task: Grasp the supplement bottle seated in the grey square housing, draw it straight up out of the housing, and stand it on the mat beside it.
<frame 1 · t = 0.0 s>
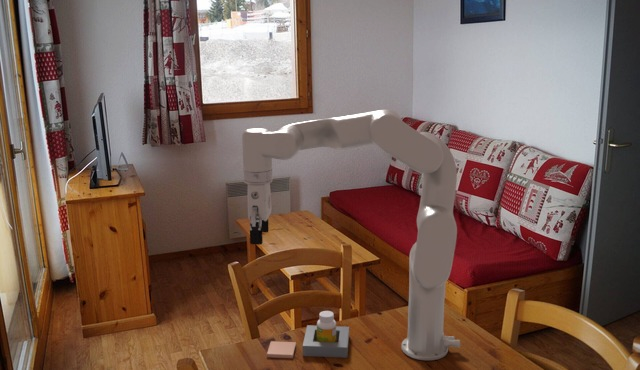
hand: (259, 237, 173), 31 cm above the table, tool pointing down, fingers open, 9 cm apart
supplement bottle: (326, 346, 180), resting in housing
mat: (281, 351, 177), on the table
housing: (326, 345, 180), on the table
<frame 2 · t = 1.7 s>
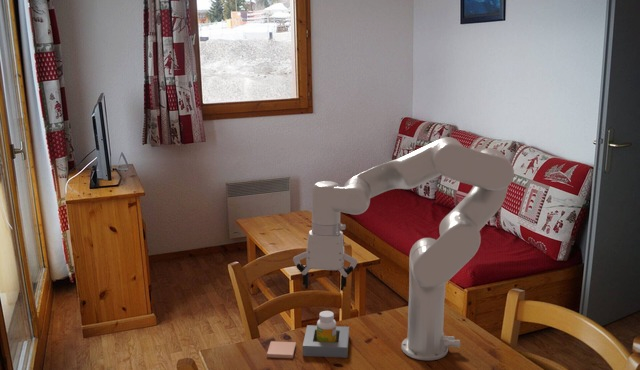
hand: (324, 287, 175), 17 cm above the table, tool pointing down, fingers open, 9 cm apart
nothing on the table moved.
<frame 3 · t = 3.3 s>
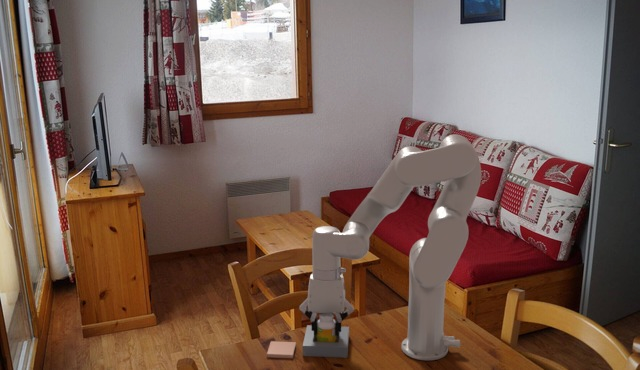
hand: (326, 332, 179), 4 cm above the table, tool pointing down, fingers closed on supplement bottle, 5 cm apart
supplement bottle: (326, 346, 180), resting in housing, touching gripper
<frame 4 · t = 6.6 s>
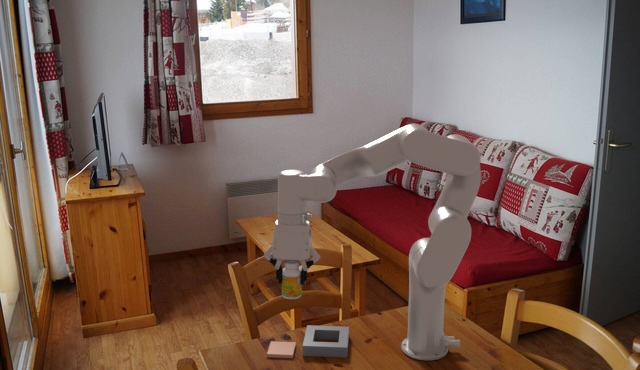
hand: (291, 281, 172), 20 cm above the table, tool pointing down, fingers closed on supplement bottle, 5 cm apart
supplement bottle: (291, 296, 174), point 16 cm above the table, touching gripper
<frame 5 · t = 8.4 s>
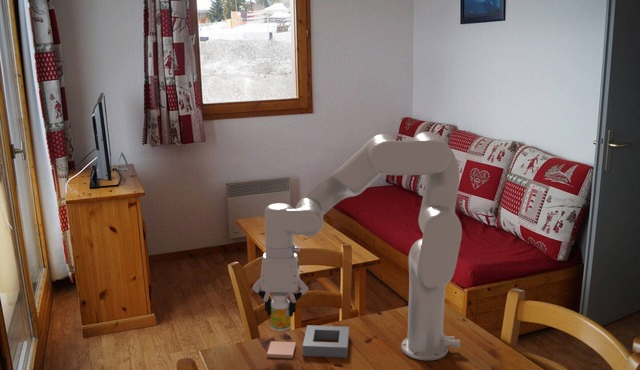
hand: (280, 313, 174), 11 cm above the table, tool pointing down, fingers closed on supplement bottle, 5 cm apart
supplement bottle: (280, 327, 175), point 7 cm above the table, touching gripper
when the fingers open (6 cm above the table, at t = 9.8 s): supplement bottle drops 1 cm, resting on mat.
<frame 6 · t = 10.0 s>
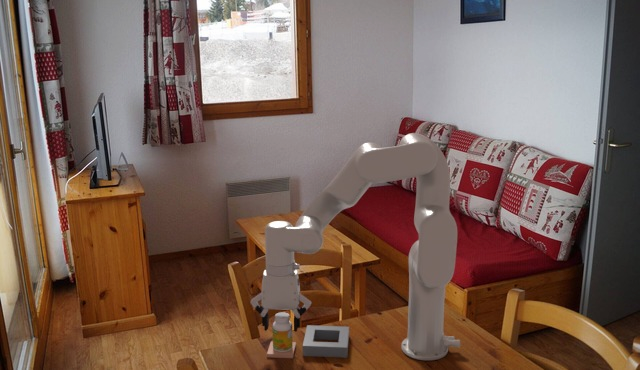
hand: (281, 328, 175), 7 cm above the table, tool pointing down, fingers open, 7 cm apart
supplement bottle: (282, 348, 177), point 1 cm above the table, touching mat
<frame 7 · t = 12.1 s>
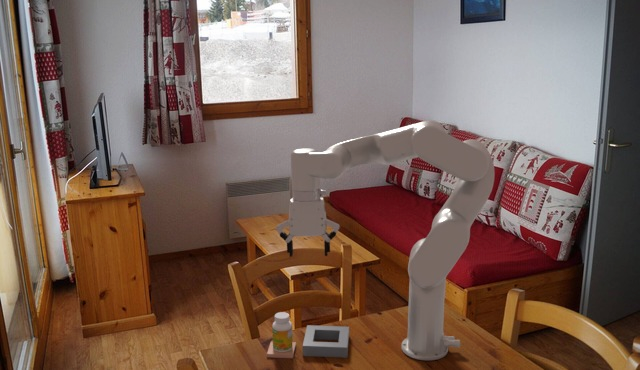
hand: (308, 254, 178), 25 cm above the table, tool pointing down, fingers open, 9 cm apart
nothing on the table moved.
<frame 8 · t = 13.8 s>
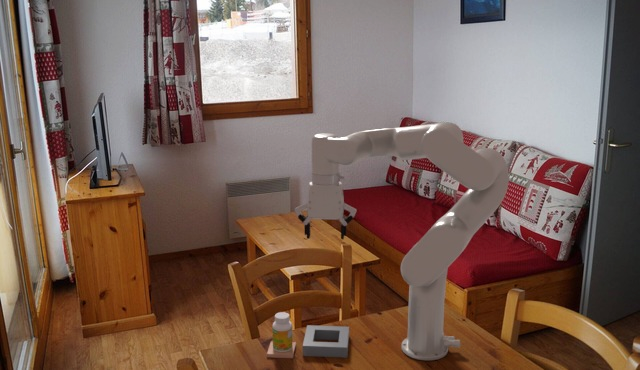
hand: (325, 237, 182), 28 cm above the table, tool pointing down, fingers open, 9 cm apart
nothing on the table moved.
at the end: supplement bottle 0.3 cm off-centre on the mat, point 0.8 cm above the mat's base; supplement bottle tilted 0°; the gripper is holding nothing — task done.
